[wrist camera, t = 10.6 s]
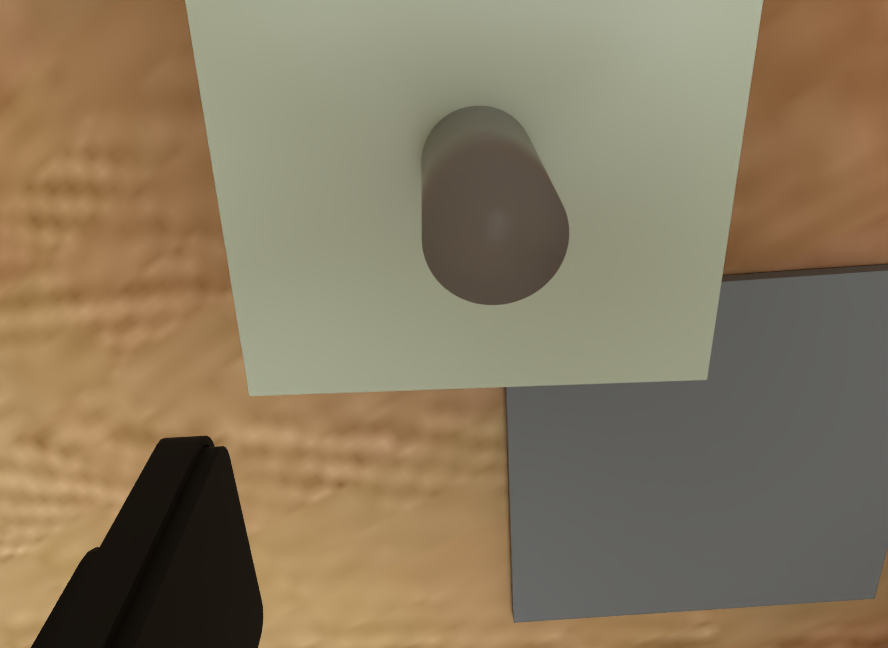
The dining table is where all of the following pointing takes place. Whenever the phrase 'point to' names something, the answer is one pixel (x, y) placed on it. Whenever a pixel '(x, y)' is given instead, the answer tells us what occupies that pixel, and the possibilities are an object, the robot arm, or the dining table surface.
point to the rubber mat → (714, 464)
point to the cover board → (366, 199)
